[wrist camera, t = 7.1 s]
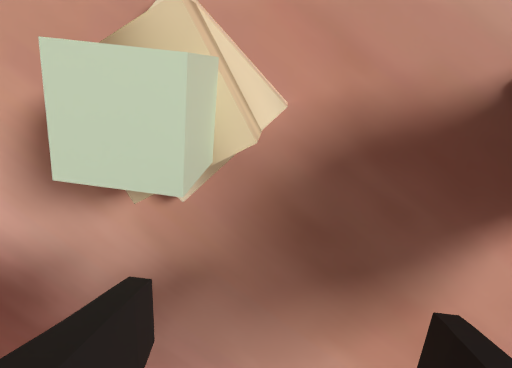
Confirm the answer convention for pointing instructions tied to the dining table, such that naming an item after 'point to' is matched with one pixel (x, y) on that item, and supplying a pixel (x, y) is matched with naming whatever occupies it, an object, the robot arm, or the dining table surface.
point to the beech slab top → (199, 42)
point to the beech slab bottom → (250, 83)
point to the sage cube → (128, 115)
